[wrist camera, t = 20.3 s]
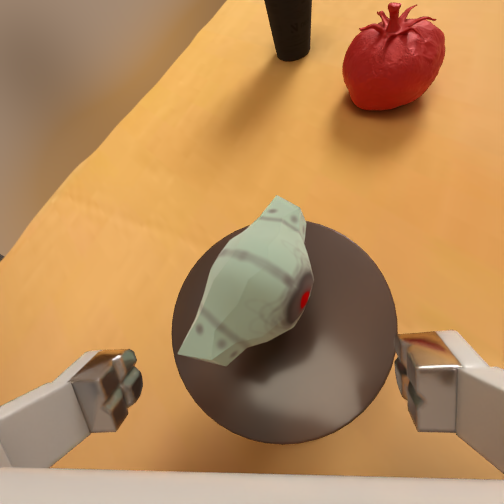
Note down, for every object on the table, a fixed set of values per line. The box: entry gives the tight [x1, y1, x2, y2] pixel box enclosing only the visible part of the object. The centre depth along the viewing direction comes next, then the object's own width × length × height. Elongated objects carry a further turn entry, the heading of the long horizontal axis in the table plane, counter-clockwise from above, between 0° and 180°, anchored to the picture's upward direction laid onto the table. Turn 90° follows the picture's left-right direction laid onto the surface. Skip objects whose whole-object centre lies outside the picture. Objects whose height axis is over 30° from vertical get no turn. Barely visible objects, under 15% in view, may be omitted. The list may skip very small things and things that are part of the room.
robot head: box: [178, 195, 314, 366], centre depth 13 cm, size 8×4×7 cm, turn 150°
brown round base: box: [172, 221, 398, 445], centre depth 21 cm, size 12×12×10 cm
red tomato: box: [342, 3, 445, 110], centre depth 32 cm, size 10×10×9 cm
